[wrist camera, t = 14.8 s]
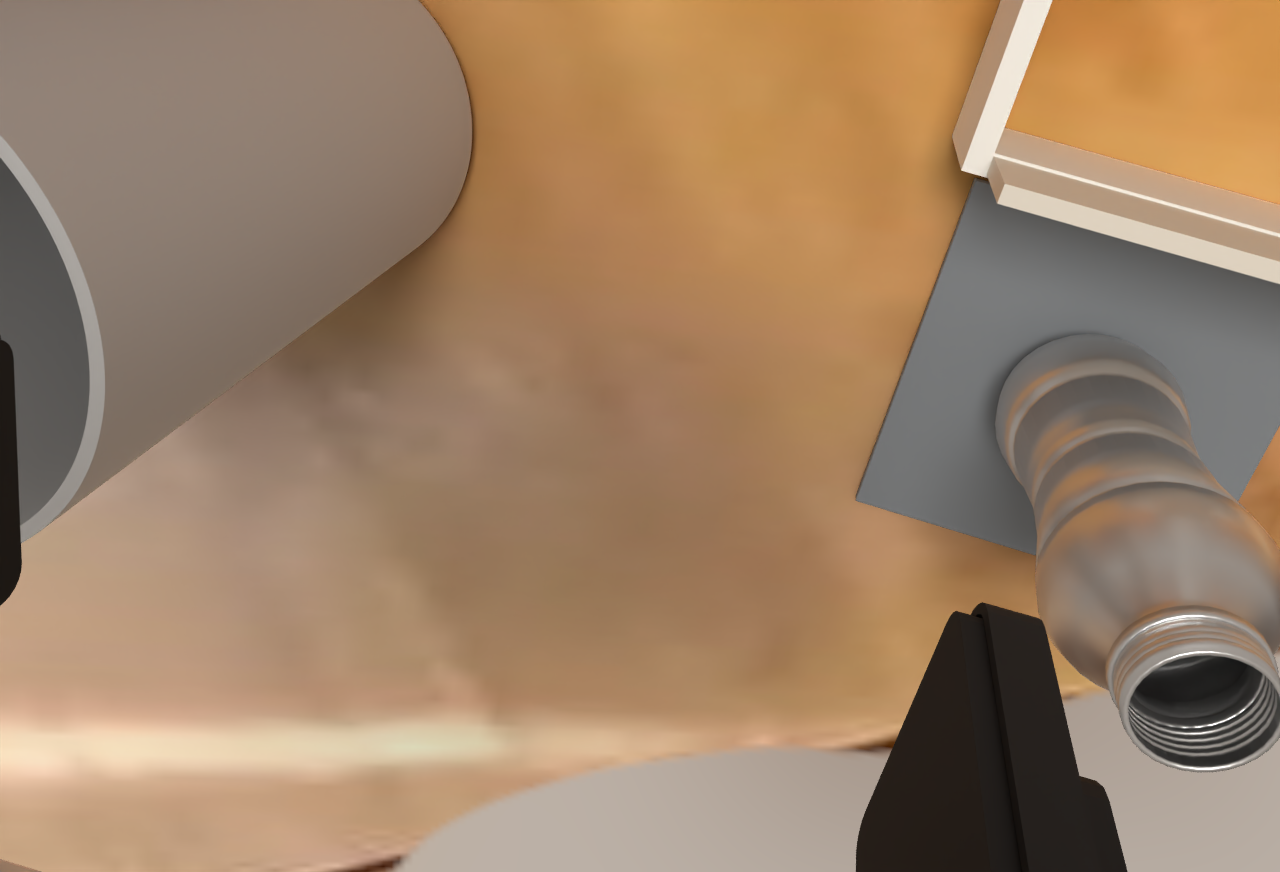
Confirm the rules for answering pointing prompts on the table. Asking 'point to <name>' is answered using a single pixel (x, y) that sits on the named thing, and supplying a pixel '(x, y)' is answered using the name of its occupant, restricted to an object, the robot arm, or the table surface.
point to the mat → (1049, 310)
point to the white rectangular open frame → (1099, 171)
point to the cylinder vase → (199, 202)
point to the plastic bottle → (1144, 553)
